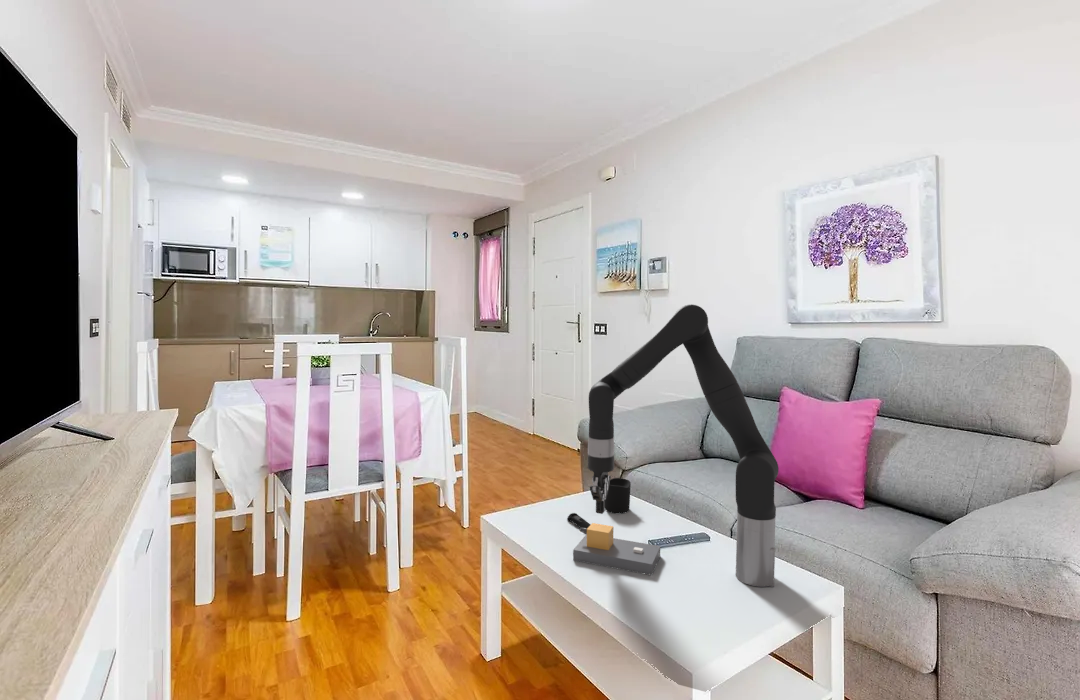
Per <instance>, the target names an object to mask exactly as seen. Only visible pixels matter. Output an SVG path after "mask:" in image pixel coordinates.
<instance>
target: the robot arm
mask: <svg viewBox="0 0 1080 700" xmlns="http://www.w3.org/2000/svg"><path fill="white" fill-rule="evenodd" d="M681 345H683V347H684V348H685V349H686V351H687V353H688V355H689V358H690V359H691V361H692V364H693V367H694V370H695V373H696V378H697V380H698V383H699V386H700V388H701V391H702V393H703V395H704V399H705V400H706V403H707V404H708V407H709V409H710V411H711V412H712V414H713V415H714V417H715V418H716V420H717V421H718V422H719V424H720V425H721V426H722V428H724V430H725V431H726V432H727V433H728V435H729V436H730V438H731V440H732V441H733V444H734V445H735V449H736V451H737V454H738V457H739V460H738V461H739V462H738V463H737V465H736V468H735V503H736V508H737V509H736V548H735V549H736V552H735V553H736V555H735V577H736V578H737V579H738V580H739V581H740V582H742V583H743V584H746V585H749V586H753V587H759V588H760V587H762V588H764V587H772V588H774V587H775V569H776V568H775V563H776V562H775V561H776V549H775V548H776V545H775V544H776V516H777V510H776V509H777V508H776V505H775V481H776V479H777V477H778V475H779V464H778V461H777V459H776V458H775V456H774V454H773V452H772V451H771V449H770V448H769V446H768V445H767V442H766V441H765V440H764V438H763V436H762V434H761V432H760V431H759V429H758V426H757V425H756V421H755V419H754V416H753V414H752V412H751V409H750V407H749V405H748V402H747V400H746V398H745V395H744V393H743V391H742V389H741V386H740V384H739V383H738V381H737V379H736V377H735V375H734V373H733V372H732V370H731V368H730V367H729V365H728V364H727V363H726V361H725V360H724V359H723V357H722V355H721V354H720V353H719V350H718V349H717V347H716V345H715V342H714V339H713V337H712V333H711V331H710V327H709V317H708V315H707V312H706V310H705V309H703V307H701V306H699V305H697V304H687V305H684V306H681V307H680V308H678V309H677V311H675V313H674V315H672V317H671V318H670V319H669V321H667V323H666V324H665V325H664V326H663V327H662V328H661V329H660V330H659V331H658V332H657V333H656V334H655V335H653V337H651V338H650V339H649V340H648V341H647V342H646V343H645V344H643V345H642V346H641V347H639V348H638V349H637V350H635V351H634V352H633V353H631V354H630V355H629V356H628V357H627V358H625V359H624V360H623V361H622V362H620V363H619V364H618V365H617V366H616V367H615V368H614V369H613V370H612V371H611V372H609V373H608V374H606V375H605V376H604V377H602V378H601V379H599V380H598V381H597V382H596V383H594V384H593V385H592V387H591V388H590V390H589V392H588V413H589V414H588V415H589V420H588V421H589V422H588V441H587V442H588V443H587V469H588V471H591V472H593V476H592V478H591V483H592V485H590V486H589V492H590V494H591V497H592V500H593V501H595V513H597V514H600V515H603V514H604V513H605V511H606V509H605V500H604V499H606V495H607V494H608V489H609V484H610V480H611V479H612V477H611V475H609V473H610V472H612V471H614V469H615V440H614V438H615V433H614V431H615V430H614V427H615V425H614V419H613V418H614V405H615V403H614V402H615V399H617V397H619V396H620V395H621V394H623V393H624V392H625V391H626V390H629V389H631V388H632V387H633V386H635V385H636V384H637V383H639V382H640V381H641V380H643V378H645V377H646V376H647V375H648V374H649V373H651V372H652V371H653V370H654V369H655V368H656V367H657V366H658V365H659V364H660V363H661V362H662V361H663V360H664V359H665V358H666V357H667V356H668V355H669V354H671V353H672V352H673V351H675V350H676V349H677V348H678V347H680V346H681Z"/></svg>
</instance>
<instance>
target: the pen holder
mask: <svg viewBox="0 0 1080 700" xmlns="http://www.w3.org/2000/svg"><path fill="white" fill-rule="evenodd" d="M631 483H632V482H631V481H630V479H629V480H628V479H626V478H622V477H621V478H620V477H613V478H611V479H610V484H609V489H608V494H607V495H606V499H604V500H605V511H606V510H607V511H606V512H608V513H610V512H612V513H611V514H616V513H621V514H625V512H626V513H628V512H629V511H630V505H631V504H630V502H631Z"/></svg>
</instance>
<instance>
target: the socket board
mask: <svg viewBox="0 0 1080 700" xmlns="http://www.w3.org/2000/svg"><path fill="white" fill-rule="evenodd" d="M572 550H573V551H572V552H573V555H572V556H573V558H572V559H573V560H572V561H575V560H576V561H577V562H582V563H586V564H592V565H596V566H601V565H602V566H601V567H606V566H608V567H607V568H611V567H613V568H612V569H617V568H618V570H622V571H623V570H624V571H627V570H629V571H628V572H632V571H634V573H637V572H638V573H637V574H642V573H645V574H644V575H647V574H650V575H649V576H653V574H652V573H654V571H655V570H656V567H657V565H656V564H658V562H659V561H660V558H661V545H655V544H650V543H644V542H638V541H631V540H627V539H621V538H616V537H615V538H614V537H613V545H612V546H611V547H610V549H609V550H604V549H598V548H593V547H587V533H586V534H585V535H584V536H583V537H582V539H581V540H580V541H579V542H578V544H577V545H576V546H575V547H574V548H573V549H572ZM576 561H575V562H576Z"/></svg>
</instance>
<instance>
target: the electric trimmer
mask: <svg viewBox="0 0 1080 700" xmlns="http://www.w3.org/2000/svg"><path fill="white" fill-rule="evenodd" d="M566 520H567V522H571V523H573V524H574V525H576V526H577V527H578V528H579V529H580V528H588V527H589V526H590V525H591V524H592V523H589V522H588V521H587V520H586V519H585V518H583V517H581V516H580V515H579V514H577V513H575V512H572V513H570V514H568V515H567V519H566Z"/></svg>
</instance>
